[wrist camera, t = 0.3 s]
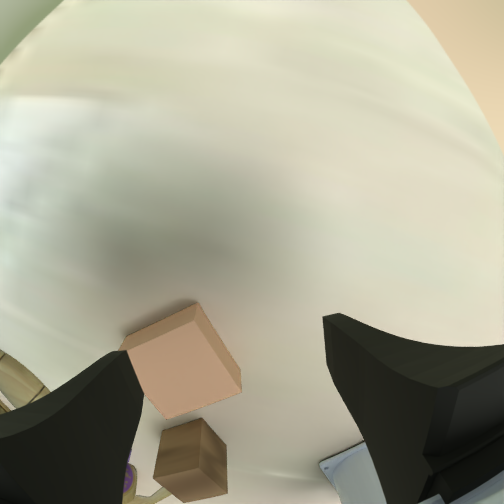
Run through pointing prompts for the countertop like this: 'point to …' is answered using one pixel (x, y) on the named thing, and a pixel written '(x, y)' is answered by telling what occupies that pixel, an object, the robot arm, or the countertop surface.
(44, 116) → the countertop surface
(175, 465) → the walnut block
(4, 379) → the toy food set
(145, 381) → the base block
